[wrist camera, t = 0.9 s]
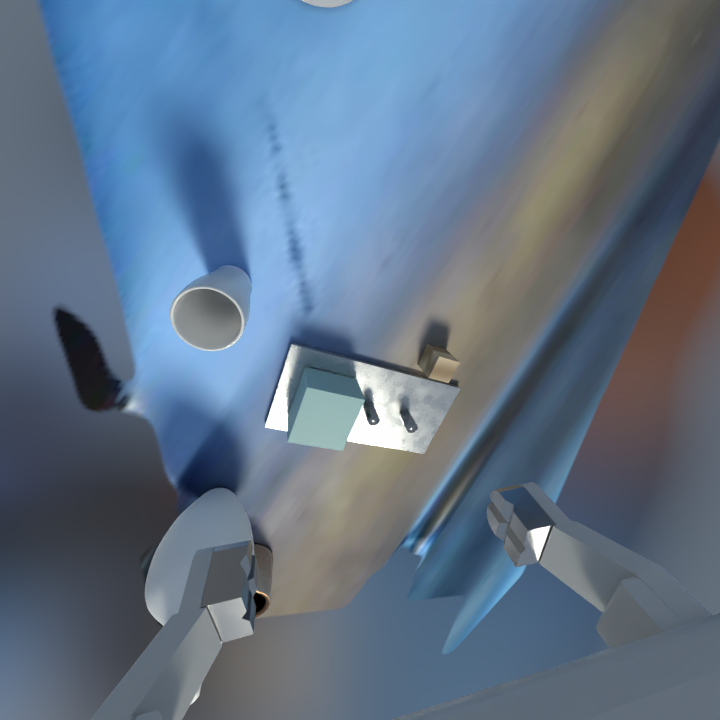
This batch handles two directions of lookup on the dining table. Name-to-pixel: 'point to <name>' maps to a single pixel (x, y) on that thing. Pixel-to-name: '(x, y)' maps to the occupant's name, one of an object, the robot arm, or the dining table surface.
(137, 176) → the dining table surface
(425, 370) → the block
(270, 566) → the planter
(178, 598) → the vase
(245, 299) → the drinking glass
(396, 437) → the base
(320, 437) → the cover
